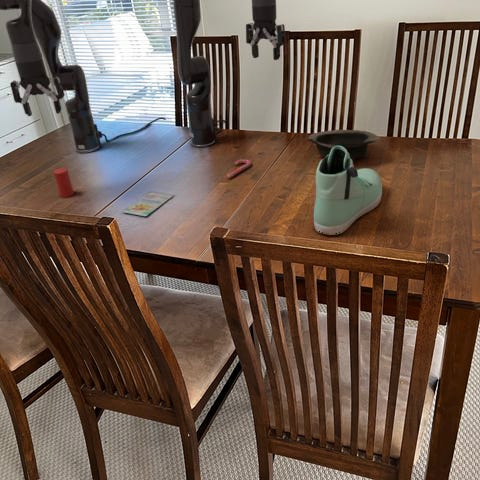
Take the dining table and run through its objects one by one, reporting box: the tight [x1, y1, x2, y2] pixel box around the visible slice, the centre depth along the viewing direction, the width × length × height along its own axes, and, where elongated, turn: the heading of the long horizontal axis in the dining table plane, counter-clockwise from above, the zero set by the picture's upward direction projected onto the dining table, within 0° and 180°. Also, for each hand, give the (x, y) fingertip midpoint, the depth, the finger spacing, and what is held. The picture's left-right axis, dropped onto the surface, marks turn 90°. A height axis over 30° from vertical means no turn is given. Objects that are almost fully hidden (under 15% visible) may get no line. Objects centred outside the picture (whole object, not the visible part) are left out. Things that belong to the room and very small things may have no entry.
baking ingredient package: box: [121, 191, 173, 217], centre depth 150 cm, size 9×1×15 cm
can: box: [53, 167, 75, 198], centre depth 159 cm, size 4×4×9 cm
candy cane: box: [226, 158, 252, 180], centre depth 168 cm, size 6×15×2 cm, turn 145°
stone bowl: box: [307, 129, 380, 162], centre depth 171 cm, size 25×25×9 cm
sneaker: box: [313, 146, 383, 236], centre depth 133 cm, size 14×35×20 cm, turn 152°
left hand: (44, 114), depth 147 cm, fingers open, 8 cm apart
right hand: (266, 58), depth 157 cm, fingers open, 8 cm apart
